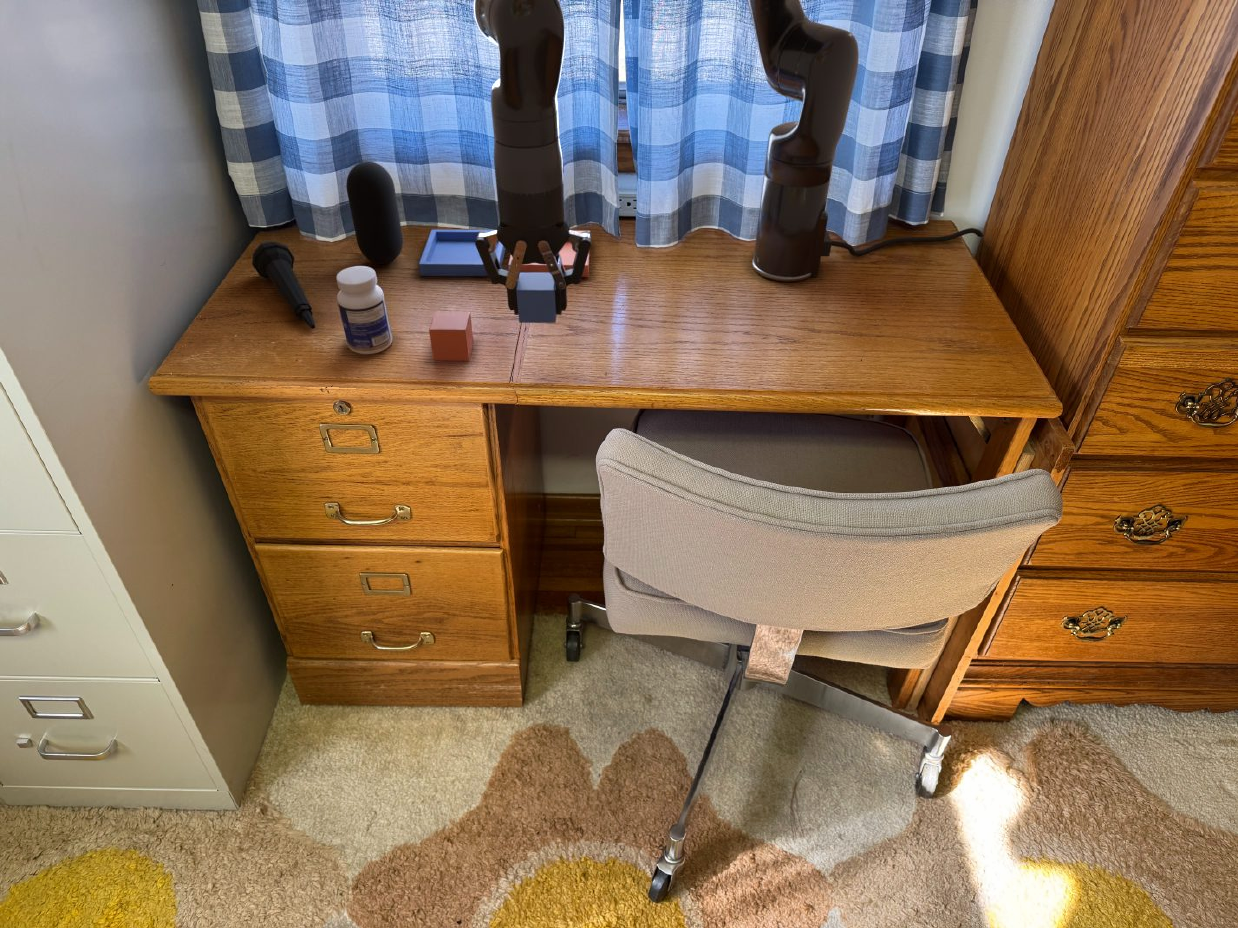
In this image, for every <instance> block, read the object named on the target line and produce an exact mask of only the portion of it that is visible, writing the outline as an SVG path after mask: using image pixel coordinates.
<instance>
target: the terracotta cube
mask: <svg viewBox="0 0 1238 928" xmlns="http://www.w3.org/2000/svg"><path fill="white" fill-rule="evenodd" d="M428 332H429V340H430V346H431V353H432V359H433V361H470V359H471V358H470V357H471V354H472V351H473V350H472V349H473V345H474V333H473V325H472V317H471V311H448V310H447V311H446V310H445V311H444V310H443V311H439V310H438V311H437V310H436V311H434V313H433V316H432V319H431V322H430V325H429V328H428Z"/></svg>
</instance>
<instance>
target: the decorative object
mask: <svg viewBox="0 0 1238 928" xmlns="http://www.w3.org/2000/svg"><path fill="white" fill-rule="evenodd" d="M345 184H346V185H345V187H346V194H347V198H348V203H349V209H350V213H351V218H352V224H353V228H354V229H353V230H354V233H355V234H354V235H355V238H356V243H357V246H358V249H359V251H360V253H361V254H362V255H363V256H364V257H365V258H366V259H367V260H368V261H370V262H372V263H374V264H378V265H386V264H389V263H392V262H393V261H395V260H396V259H397V258H398V257H399V256H400V254H401V252H402V250H403V245H404V237H403V229H402V224H401V218H400V213H399V212H400V210H399V207H398V200H397V193H396V187H395V183H394V179H393V177H392V176H391V175H390V172H389V171H388V170H387V169H386V168H385V167H383V166H382V165H381V164H380V163H377V162H374V161H362V162H358V163H357V164H355V165H354V166H353V167H352V168H351V169H350V171H349V173H348V175H347V178H346V183H345Z"/></svg>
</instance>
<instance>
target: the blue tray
mask: <svg viewBox="0 0 1238 928" xmlns="http://www.w3.org/2000/svg"><path fill="white" fill-rule="evenodd" d="M482 230H483V231H486V232H487V233H488V232H492V231H495V230H496V229H431V231H430V234H429V236H428V239H427V241H426V244H425V246H424V250H423V251H422V253H421V257H420V260H419V262H418V267H419V268H418V269H419V274H420V276H422V277H489V276H488V274H487V271H486V269H485V267H484V264H483V262H482V260H481V257H480V255H479V253H478V250H477V248H476V246H475V242H476V239H477V235H478V232H479V231H482ZM496 243H497V246H496V249H495V253H496V255H497V258H498V260H499V263H500V265H501V268H502V269H503V263H504V258H505V253H506V251H507V250H506V248H505V247H504V246H503V245H502V244H501V243H500V242H499V241H497V242H496Z"/></svg>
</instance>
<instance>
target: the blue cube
mask: <svg viewBox="0 0 1238 928" xmlns="http://www.w3.org/2000/svg"><path fill="white" fill-rule="evenodd" d="M517 281H518V285H517V290H516V292H517V304H518V315H517V316H518V323H519V324H541V323H542V324H545V323H546V324H556V323H557V315H556V304H555V282H554V279H553V277H552V275H551V274H550V273H520V274H519V276H518V279H517Z"/></svg>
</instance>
